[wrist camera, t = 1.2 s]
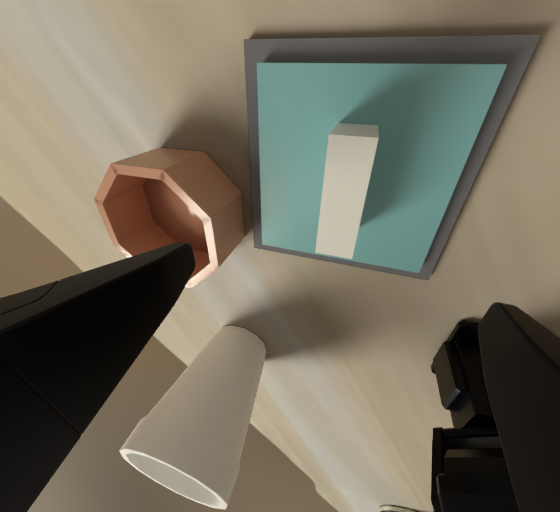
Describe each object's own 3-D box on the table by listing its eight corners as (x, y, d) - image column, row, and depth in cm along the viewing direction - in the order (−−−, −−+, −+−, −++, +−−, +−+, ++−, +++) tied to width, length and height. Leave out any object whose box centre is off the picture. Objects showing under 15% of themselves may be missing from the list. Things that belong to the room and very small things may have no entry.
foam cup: (207, 304, 28) (109, 434, 18) (286, 335, 27) (231, 495, 17) (205, 351, 34) (130, 470, 23) (270, 378, 32) (222, 516, 22)
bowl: (239, 155, 17) (204, 175, 14) (246, 261, 23) (222, 295, 19) (131, 144, 20) (76, 159, 16) (160, 244, 25) (124, 271, 21)
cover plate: (499, 65, 11) (553, 59, 8) (417, 266, 17) (427, 311, 14) (262, 63, 14) (224, 58, 10) (265, 239, 20) (243, 271, 17)
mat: (535, 35, 11) (541, 34, 10) (427, 275, 18) (428, 280, 18) (247, 40, 14) (243, 39, 13) (256, 244, 21) (254, 247, 21)
